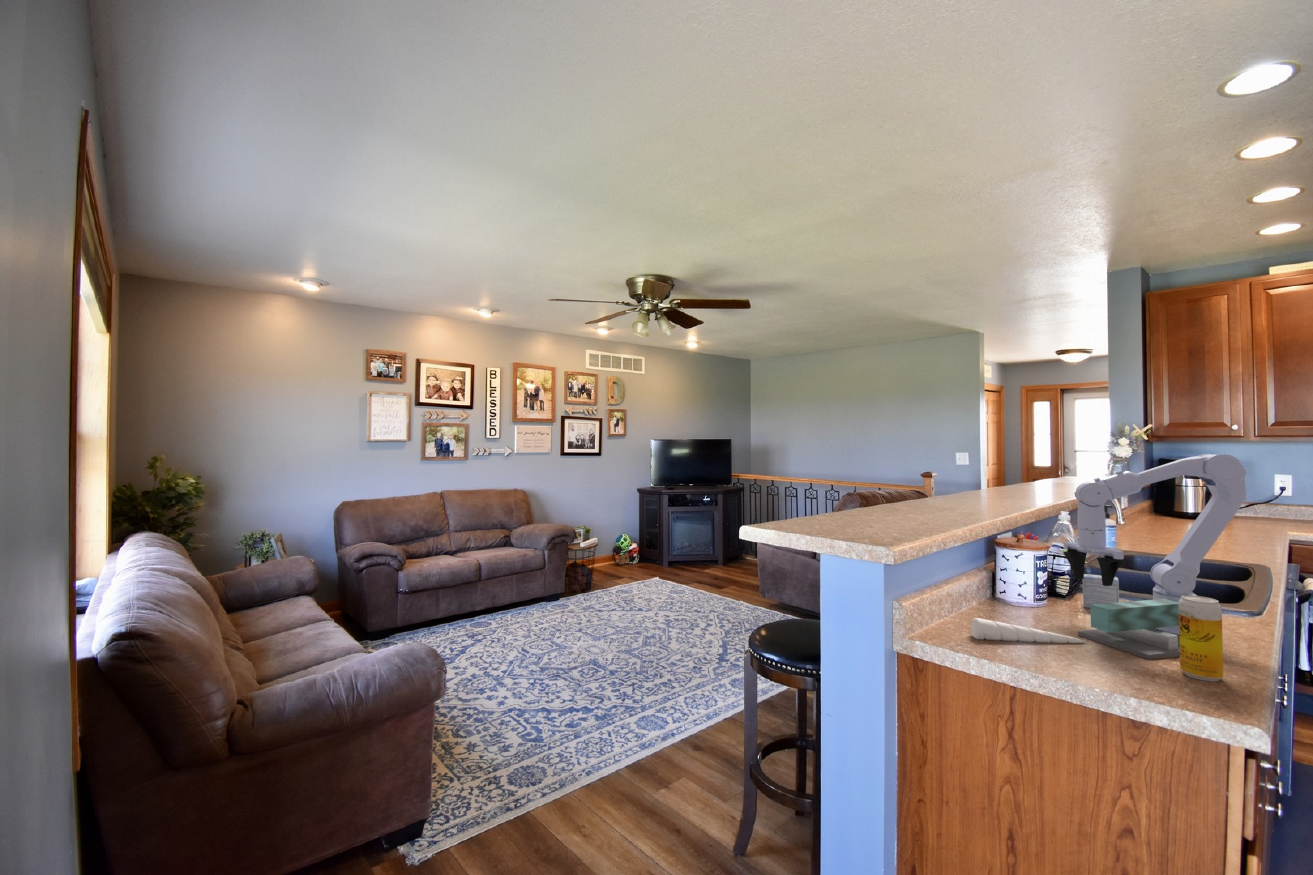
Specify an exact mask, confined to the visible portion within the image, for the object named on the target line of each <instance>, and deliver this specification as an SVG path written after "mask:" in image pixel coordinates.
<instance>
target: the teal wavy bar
mask: <svg viewBox="0 0 1313 875" xmlns="http://www.w3.org/2000/svg"><path fill="white" fill-rule="evenodd" d="M1089 610H1090V611H1089V612H1090V628H1093V629H1099V630H1102V631H1105V632H1119V631H1130V630H1140V629H1151V628H1154V629H1156V628H1162V627H1173V626H1179V601H1175V600H1171V599H1156V600H1153V599H1146V600H1134V601H1133V600H1132V601H1122V602H1121V601H1119V602H1118V603H1106V604H1093V605H1090V608H1089Z"/></svg>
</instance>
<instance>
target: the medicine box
mask: <svg viewBox="0 0 1313 875" xmlns="http://www.w3.org/2000/svg"><path fill="white" fill-rule="evenodd" d="M1119 581H1120V580H1119V578H1118V577H1117V576H1115V577H1114V580H1113V583H1112V586H1103V584H1102V575H1099V574H1089V573H1088V574H1086V573H1084V578H1083V579H1082V607H1083V608H1089V609H1090V605H1093V604H1106V603H1118V602H1120V586H1119V585H1120V582H1119Z"/></svg>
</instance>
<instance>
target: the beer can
mask: <svg viewBox="0 0 1313 875" xmlns="http://www.w3.org/2000/svg"><path fill="white" fill-rule="evenodd" d="M1219 602H1220V601H1219V600H1217V599H1215V598H1211V597H1208V596H1207V597H1206V596H1202V595H1201V596H1200V595H1197V596H1190V595H1185V596H1181V599H1180V600H1179V635H1178V640H1180V656H1179V669H1180V670H1182V672H1183V674H1184V675H1186V676H1188V677H1190V678H1193V679H1197V680H1199V681H1200V680H1201V681H1207V682H1219V681H1220V679H1222V678H1224V651H1223V650H1224V649H1223V647H1224V646H1223V610H1222V606H1221V604H1220V603H1219Z"/></svg>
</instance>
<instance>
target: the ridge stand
mask: <svg viewBox="0 0 1313 875" xmlns="http://www.w3.org/2000/svg"><path fill="white" fill-rule="evenodd" d="M1077 636H1080V637H1082V638H1084V639H1085V638H1086V639H1088V640H1091V641H1094V642H1097V643H1099V642H1100V644H1103V645H1105V646H1108V647H1110V648H1115V649H1116V650H1117V649H1118V650H1119V651H1123V652H1126V653H1129V654H1131V655H1135V656H1137V657H1140V658H1143V659H1146V660H1156V659H1167V658H1176V657H1180V640H1179V635H1176V634H1173V633H1169V632H1166V631H1162V630H1159V629H1156V628H1151V629H1140V630H1130V631H1119V632H1105V631H1102V630H1099V629H1096V628H1093V629H1084V630H1077Z"/></svg>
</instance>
